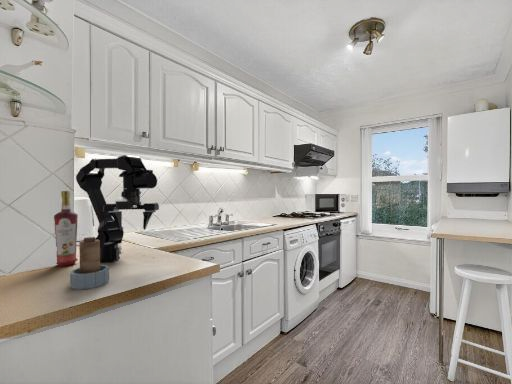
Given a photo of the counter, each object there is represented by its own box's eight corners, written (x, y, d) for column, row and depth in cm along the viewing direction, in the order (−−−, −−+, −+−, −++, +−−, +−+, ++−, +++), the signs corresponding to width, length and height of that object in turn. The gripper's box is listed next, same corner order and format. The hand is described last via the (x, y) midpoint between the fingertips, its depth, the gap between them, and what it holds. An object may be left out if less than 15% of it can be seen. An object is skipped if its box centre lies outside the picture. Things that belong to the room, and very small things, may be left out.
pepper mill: (76, 282, 78) (75, 238, 78) (93, 277, 83) (92, 235, 83) (87, 284, 76) (86, 240, 76) (104, 279, 81) (103, 237, 81)
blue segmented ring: (62, 290, 74) (62, 275, 74) (83, 278, 84) (83, 265, 84) (98, 289, 75) (97, 274, 75) (114, 277, 85) (114, 264, 85)
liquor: (79, 261, 105) (78, 190, 105) (76, 265, 99) (75, 191, 99) (57, 263, 102) (55, 191, 102) (52, 268, 96) (51, 191, 95)
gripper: (94, 189, 92) (95, 233, 92) (148, 188, 93) (149, 232, 93) (110, 189, 103) (111, 229, 103) (159, 188, 104) (159, 228, 104)
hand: (132, 229), depth 101 cm, fingers open, 9 cm apart
